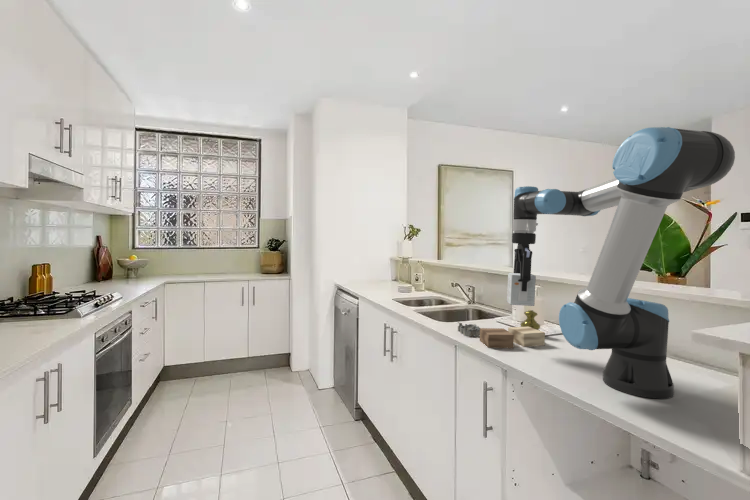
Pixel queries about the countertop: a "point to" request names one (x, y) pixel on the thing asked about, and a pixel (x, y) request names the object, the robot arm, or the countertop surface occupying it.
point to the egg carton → (469, 330)
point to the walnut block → (496, 338)
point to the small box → (514, 290)
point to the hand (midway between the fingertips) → (520, 298)
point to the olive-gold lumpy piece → (530, 320)
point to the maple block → (527, 336)
